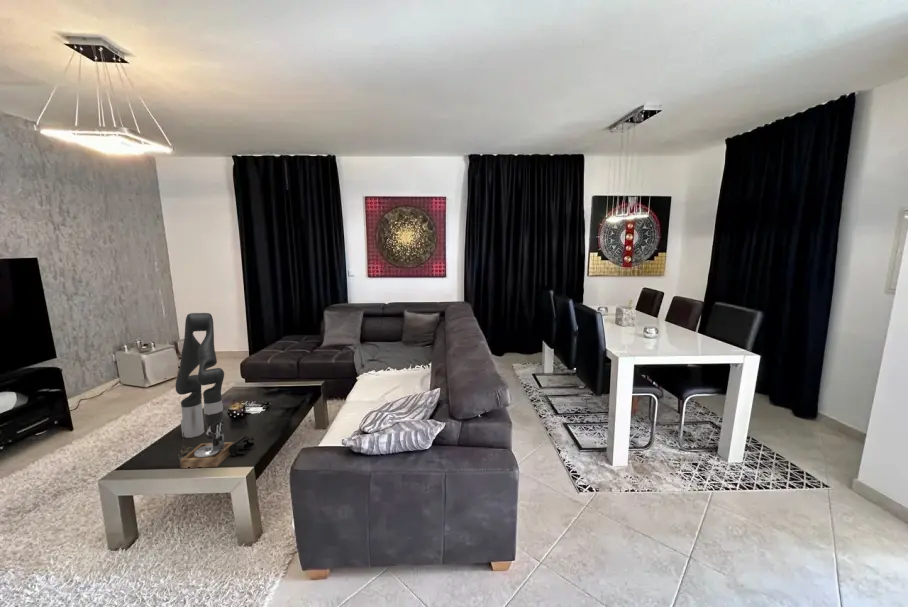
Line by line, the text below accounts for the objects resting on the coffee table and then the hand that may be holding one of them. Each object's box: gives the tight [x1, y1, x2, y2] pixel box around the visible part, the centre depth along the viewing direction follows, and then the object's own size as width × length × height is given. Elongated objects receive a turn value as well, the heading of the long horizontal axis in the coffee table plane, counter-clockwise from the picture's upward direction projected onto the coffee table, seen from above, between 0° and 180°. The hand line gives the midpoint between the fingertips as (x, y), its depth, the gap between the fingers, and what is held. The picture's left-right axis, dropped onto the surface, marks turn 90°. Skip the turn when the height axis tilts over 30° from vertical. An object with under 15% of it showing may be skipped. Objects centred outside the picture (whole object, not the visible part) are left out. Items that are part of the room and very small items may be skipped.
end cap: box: [229, 434, 255, 458], centre depth 185 cm, size 10×7×7 cm
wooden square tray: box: [179, 441, 235, 469], centre depth 179 cm, size 16×16×4 cm
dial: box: [194, 433, 225, 458], centre depth 179 cm, size 13×11×9 cm
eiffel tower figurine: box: [177, 432, 193, 465], centre depth 182 cm, size 15×10×13 cm
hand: (216, 445), depth 176 cm, fingers closed
